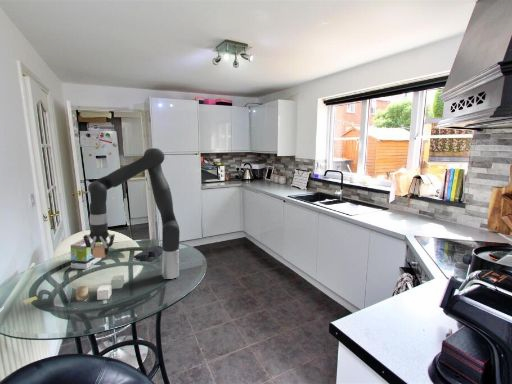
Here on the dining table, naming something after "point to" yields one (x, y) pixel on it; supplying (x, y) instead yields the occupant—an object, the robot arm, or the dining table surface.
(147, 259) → the dark slate chunk
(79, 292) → the maple cylinder
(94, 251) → the terracotta block
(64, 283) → the dining table surface
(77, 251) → the tea box
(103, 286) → the cream block
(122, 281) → the sage block
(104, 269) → the dining table surface
